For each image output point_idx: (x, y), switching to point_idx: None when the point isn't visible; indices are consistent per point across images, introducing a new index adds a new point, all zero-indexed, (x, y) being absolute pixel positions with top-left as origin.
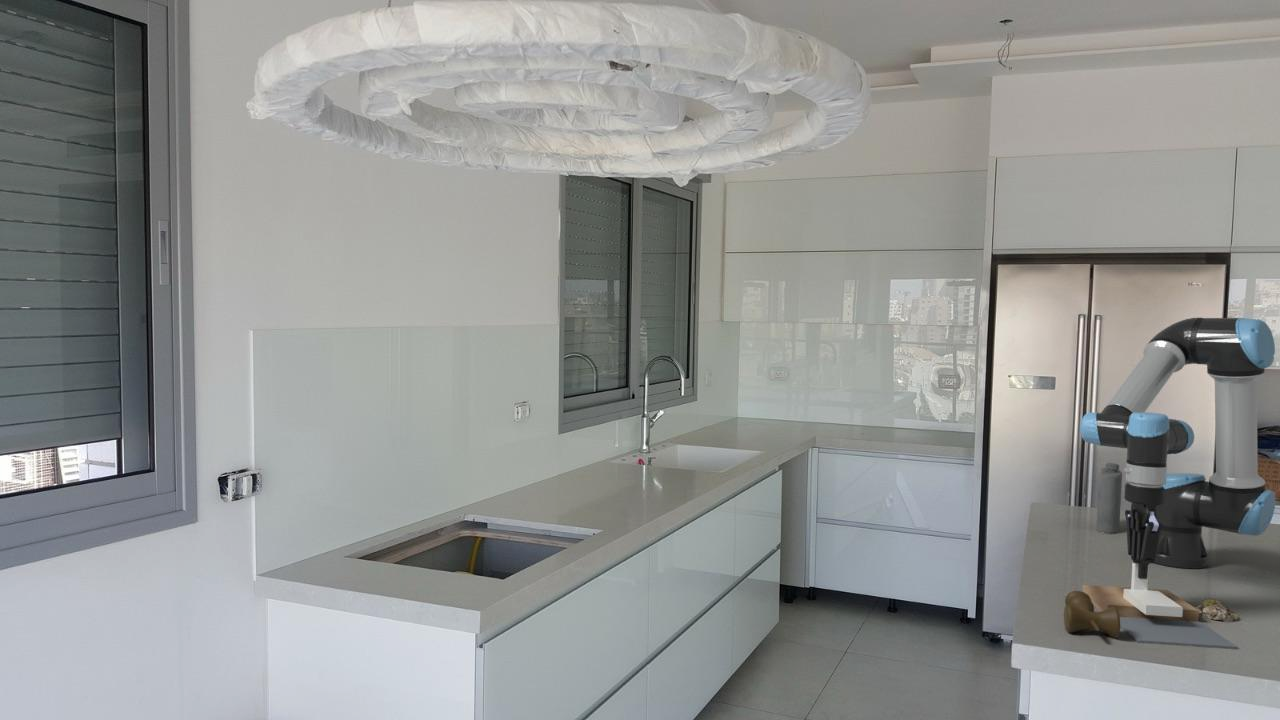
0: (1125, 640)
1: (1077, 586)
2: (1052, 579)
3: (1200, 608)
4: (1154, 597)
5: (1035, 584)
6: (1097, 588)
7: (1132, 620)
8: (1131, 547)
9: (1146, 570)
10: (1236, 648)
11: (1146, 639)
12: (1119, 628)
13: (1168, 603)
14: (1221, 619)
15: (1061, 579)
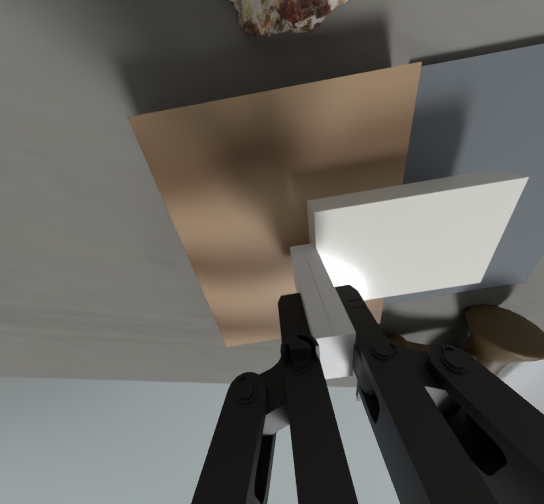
0: (505, 295)
1: (151, 325)
2: (126, 356)
3: (306, 8)
4: (404, 245)
5: (190, 376)
6: (244, 326)
7: None
8: (268, 467)
9: (370, 317)
10: None
11: (526, 267)
12: (534, 324)
13: (474, 216)
14: None
15: (111, 344)
